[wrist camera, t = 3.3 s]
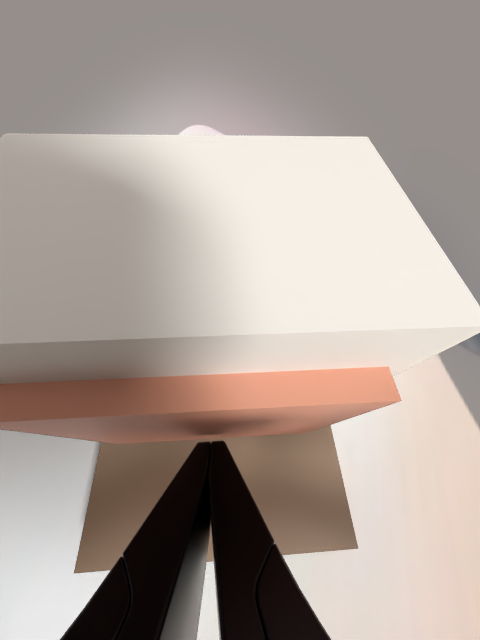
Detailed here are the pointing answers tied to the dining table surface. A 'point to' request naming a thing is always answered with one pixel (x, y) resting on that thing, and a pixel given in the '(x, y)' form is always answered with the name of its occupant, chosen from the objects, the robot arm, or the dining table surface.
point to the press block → (211, 285)
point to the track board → (259, 475)
